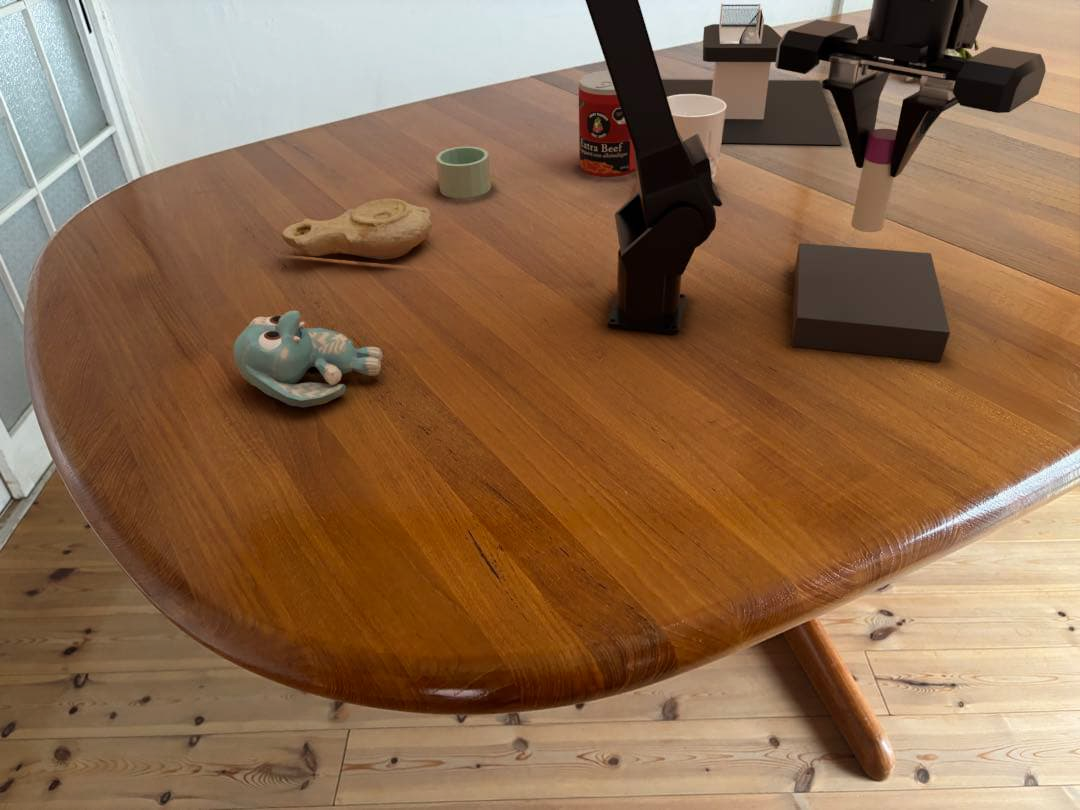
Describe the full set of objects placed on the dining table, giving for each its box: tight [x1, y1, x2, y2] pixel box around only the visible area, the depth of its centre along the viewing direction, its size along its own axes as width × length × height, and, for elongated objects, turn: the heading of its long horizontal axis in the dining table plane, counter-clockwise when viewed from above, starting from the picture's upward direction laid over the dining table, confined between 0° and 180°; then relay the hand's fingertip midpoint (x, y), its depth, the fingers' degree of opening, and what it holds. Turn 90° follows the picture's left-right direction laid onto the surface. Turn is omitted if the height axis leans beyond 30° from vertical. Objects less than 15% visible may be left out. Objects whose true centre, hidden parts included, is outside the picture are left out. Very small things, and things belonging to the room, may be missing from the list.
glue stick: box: [850, 128, 897, 233], centre depth 68 cm, size 3×3×8 cm
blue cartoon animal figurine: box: [232, 310, 384, 408], centre depth 68 cm, size 11×7×12 cm
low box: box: [791, 242, 951, 363], centre depth 74 cm, size 14×12×3 cm
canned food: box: [578, 69, 636, 178], centre depth 101 cm, size 8×8×11 cm
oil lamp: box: [281, 198, 433, 260], centre depth 86 cm, size 11×14×5 cm
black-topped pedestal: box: [662, 3, 843, 146], centre depth 116 cm, size 28×26×13 cm
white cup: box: [667, 94, 727, 183], centre depth 95 cm, size 8×8×10 cm
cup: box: [435, 145, 492, 200], centre depth 99 cm, size 6×6×4 cm
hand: (878, 171), depth 68 cm, fingers closed on glue stick, 3 cm apart
